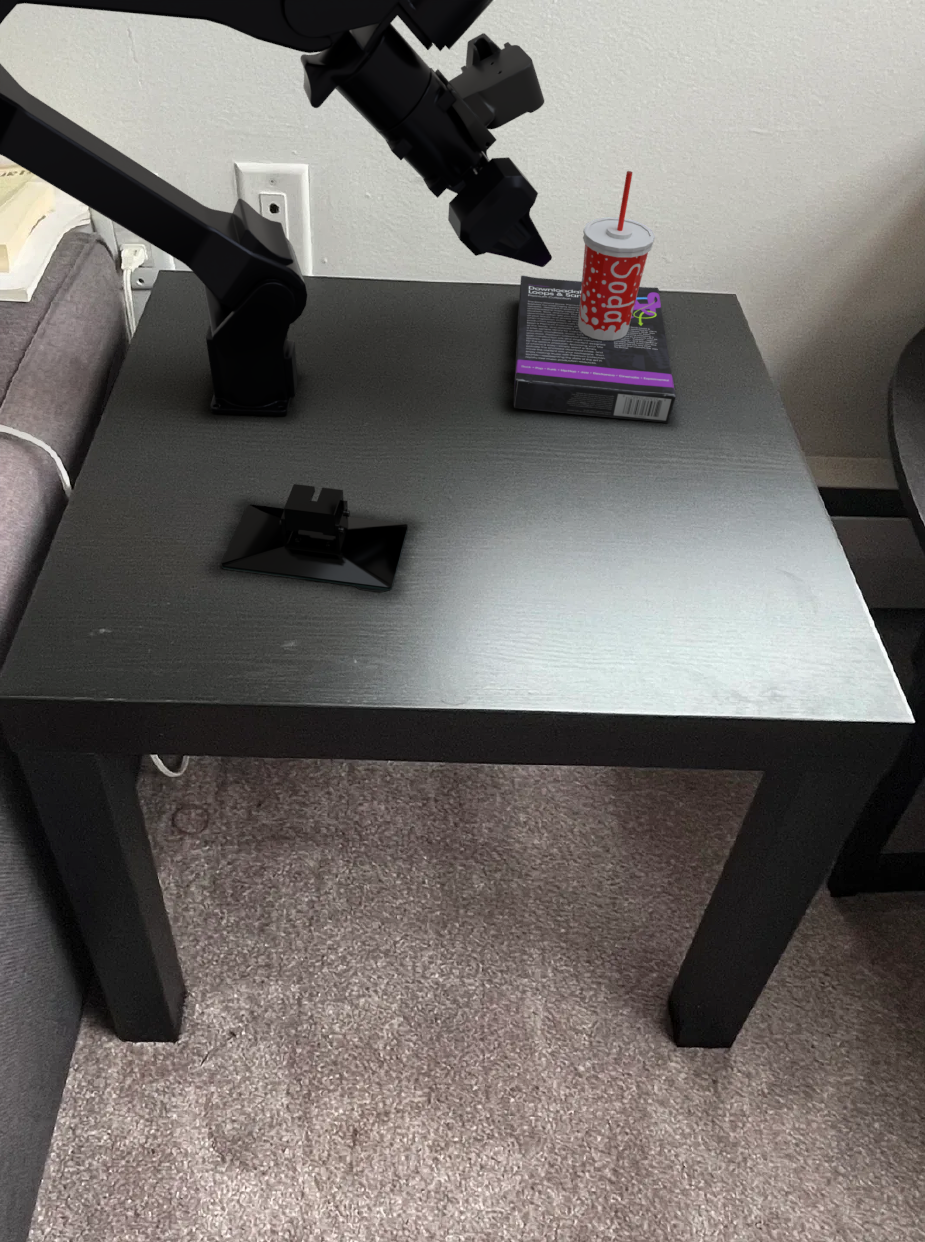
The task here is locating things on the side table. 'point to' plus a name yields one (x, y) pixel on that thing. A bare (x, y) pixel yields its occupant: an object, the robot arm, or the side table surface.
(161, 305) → the side table surface
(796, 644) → the side table surface
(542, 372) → the box
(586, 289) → the beverage cup
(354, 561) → the build plate
